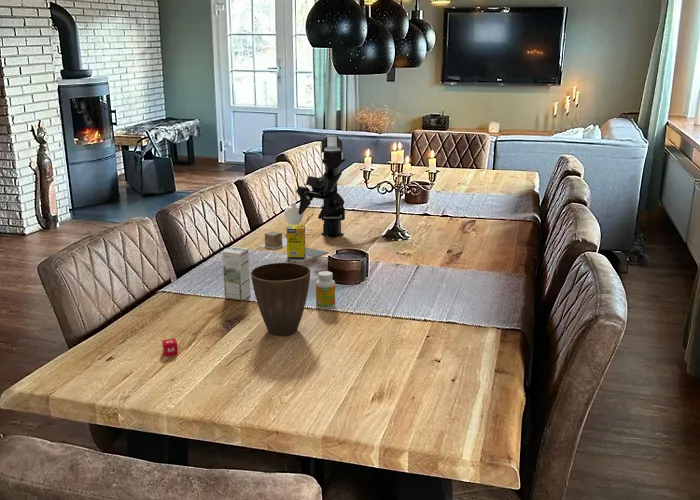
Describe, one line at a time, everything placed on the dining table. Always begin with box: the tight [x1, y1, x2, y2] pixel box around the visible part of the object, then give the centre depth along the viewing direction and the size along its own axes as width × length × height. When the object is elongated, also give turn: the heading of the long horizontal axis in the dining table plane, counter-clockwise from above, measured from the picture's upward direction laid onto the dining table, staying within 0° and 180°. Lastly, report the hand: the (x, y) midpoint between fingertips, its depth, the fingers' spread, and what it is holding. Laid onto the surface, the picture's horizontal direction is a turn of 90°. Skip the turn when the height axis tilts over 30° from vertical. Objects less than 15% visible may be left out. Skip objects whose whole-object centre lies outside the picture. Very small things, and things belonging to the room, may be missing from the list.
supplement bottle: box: [315, 270, 336, 310], centre depth 195 cm, size 5×5×10 cm
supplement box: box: [286, 224, 306, 260], centre depth 241 cm, size 6×6×11 cm
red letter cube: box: [161, 338, 179, 357], centre depth 165 cm, size 3×3×3 cm
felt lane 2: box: [278, 247, 329, 264], centre depth 245 cm, size 16×10×1 cm, turn 143°
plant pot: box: [250, 262, 311, 337], centre depth 177 cm, size 15×15×16 cm
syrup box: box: [222, 246, 251, 302], centre depth 201 cm, size 6×6×14 cm
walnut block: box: [264, 230, 283, 247], centre depth 256 cm, size 4×4×4 cm
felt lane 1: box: [258, 237, 287, 250], centre depth 259 cm, size 14×8×1 cm, turn 143°
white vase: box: [283, 201, 304, 225], centre depth 275 cm, size 8×8×12 cm
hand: (309, 216), depth 245 cm, fingers open, 9 cm apart
